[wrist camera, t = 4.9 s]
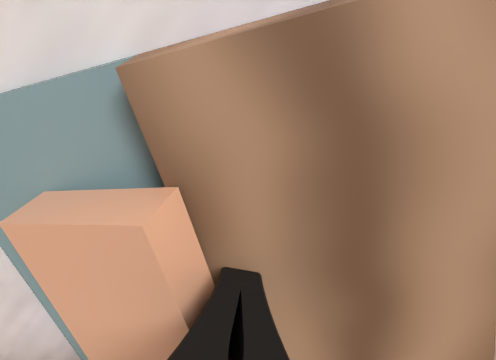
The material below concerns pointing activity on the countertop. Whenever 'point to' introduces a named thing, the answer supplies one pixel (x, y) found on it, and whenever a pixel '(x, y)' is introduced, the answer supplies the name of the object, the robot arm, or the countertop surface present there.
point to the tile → (116, 267)
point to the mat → (69, 149)
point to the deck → (341, 169)
